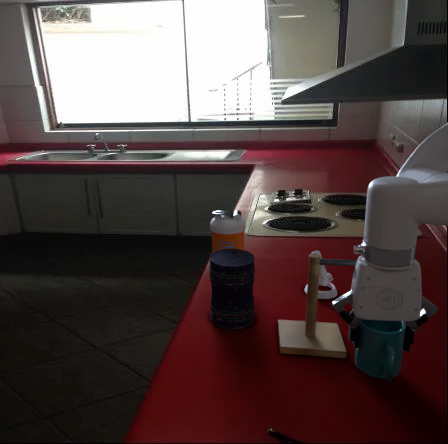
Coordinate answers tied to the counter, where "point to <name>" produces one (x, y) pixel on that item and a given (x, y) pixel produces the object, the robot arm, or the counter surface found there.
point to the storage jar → (232, 288)
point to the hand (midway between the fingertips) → (379, 344)
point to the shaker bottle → (227, 230)
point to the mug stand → (313, 321)
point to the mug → (380, 348)
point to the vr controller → (324, 282)
